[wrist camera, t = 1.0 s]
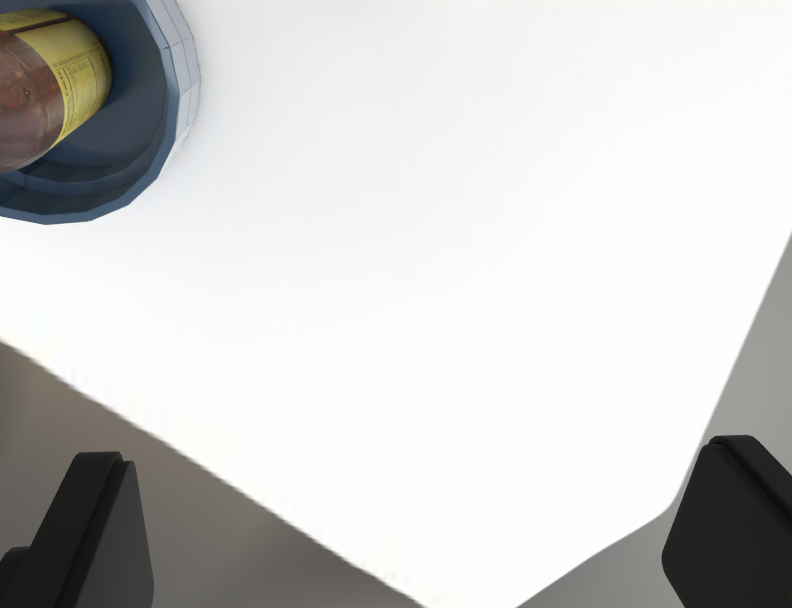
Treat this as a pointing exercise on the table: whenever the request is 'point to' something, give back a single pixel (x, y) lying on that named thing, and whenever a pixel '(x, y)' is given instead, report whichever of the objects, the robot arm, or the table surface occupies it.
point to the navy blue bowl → (114, 116)
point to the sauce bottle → (47, 81)
